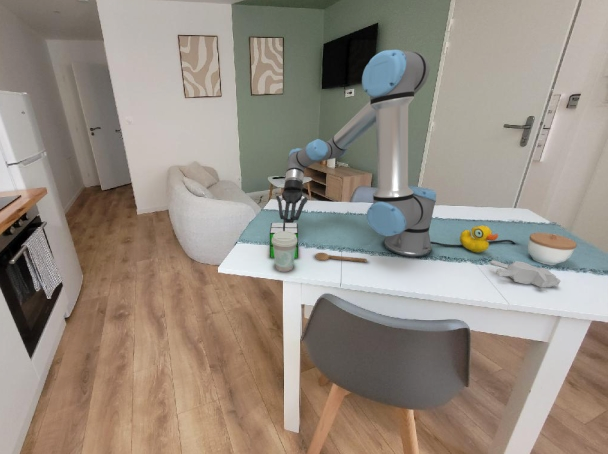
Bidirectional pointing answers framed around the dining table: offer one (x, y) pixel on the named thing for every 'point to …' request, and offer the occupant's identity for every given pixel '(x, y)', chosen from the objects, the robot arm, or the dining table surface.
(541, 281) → the bunny figurine
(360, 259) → the wooden spoon
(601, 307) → the dining table surface
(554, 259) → the trinket box
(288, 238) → the coffee cup
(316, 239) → the dining table surface
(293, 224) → the puzzle cube
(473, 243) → the duckling
